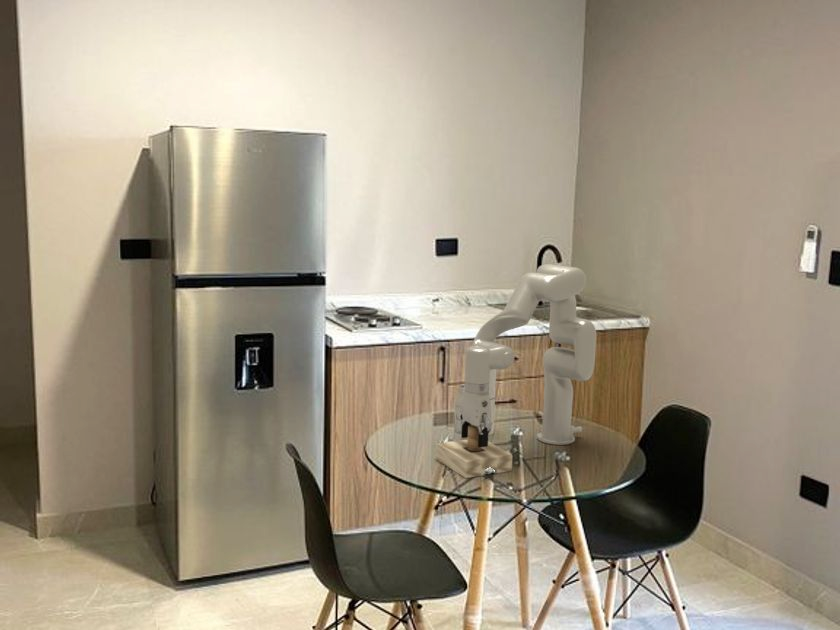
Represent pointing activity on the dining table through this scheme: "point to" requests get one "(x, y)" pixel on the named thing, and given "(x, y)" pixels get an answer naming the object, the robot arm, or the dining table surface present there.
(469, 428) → the peg
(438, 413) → the dining table surface
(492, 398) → the cylindrical container
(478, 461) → the block
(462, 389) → the plastic bottle
